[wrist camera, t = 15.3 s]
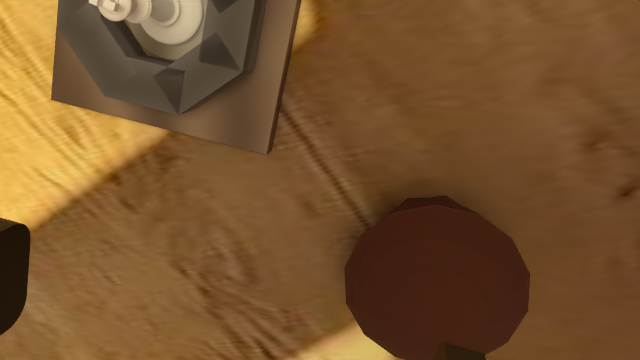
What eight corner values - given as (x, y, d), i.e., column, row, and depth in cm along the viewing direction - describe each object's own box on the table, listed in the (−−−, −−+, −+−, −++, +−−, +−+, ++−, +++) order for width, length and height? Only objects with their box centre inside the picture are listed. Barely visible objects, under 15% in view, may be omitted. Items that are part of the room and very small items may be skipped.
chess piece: (151, -41, 37) (62, -68, 27) (216, -12, 36) (150, -28, 27) (131, 28, 38) (39, 26, 28) (193, 57, 38) (123, 64, 28)
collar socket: (319, -92, 36) (308, -110, 31) (271, 150, 41) (255, 164, 36) (82, -143, 37) (40, -166, 33) (63, 97, 42) (24, 104, 38)
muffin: (530, 199, 39) (571, 252, 29) (488, 331, 42) (513, 419, 32) (368, 164, 40) (357, 204, 30) (340, 295, 43) (321, 369, 33)
